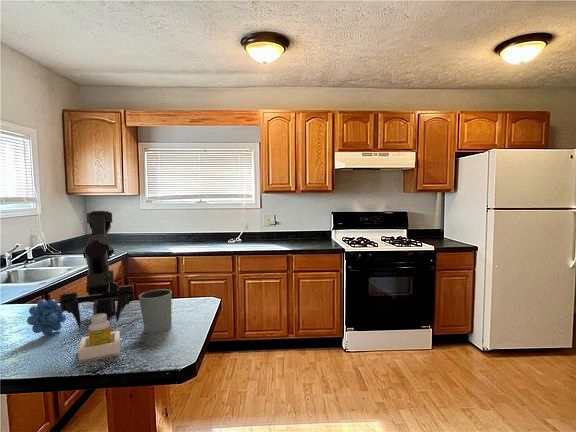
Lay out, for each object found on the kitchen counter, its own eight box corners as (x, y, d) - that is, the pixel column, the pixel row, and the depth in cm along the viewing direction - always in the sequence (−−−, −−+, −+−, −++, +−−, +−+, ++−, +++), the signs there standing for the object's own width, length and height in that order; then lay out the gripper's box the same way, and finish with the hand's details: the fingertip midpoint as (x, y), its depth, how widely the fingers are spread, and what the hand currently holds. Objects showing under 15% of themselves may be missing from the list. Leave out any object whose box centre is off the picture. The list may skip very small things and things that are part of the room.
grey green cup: (179, 327, 114) (177, 292, 113) (149, 337, 106) (147, 299, 106) (164, 320, 121) (162, 287, 120) (135, 329, 113) (133, 293, 113)
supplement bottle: (93, 355, 94) (91, 320, 93) (87, 349, 97) (85, 316, 97) (114, 348, 98) (112, 315, 97) (107, 343, 101) (105, 311, 101)
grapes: (37, 344, 104) (34, 305, 103) (24, 340, 107) (21, 303, 106) (74, 329, 115) (72, 294, 114) (61, 327, 117) (59, 292, 116)
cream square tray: (82, 348, 100) (82, 337, 99) (120, 341, 104) (119, 330, 104) (78, 363, 91) (78, 350, 91) (119, 355, 95) (119, 342, 95)
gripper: (58, 265, 95) (53, 316, 86) (131, 258, 103) (134, 304, 94) (64, 286, 103) (61, 335, 94) (132, 278, 111) (135, 323, 102)
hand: (98, 324), depth 96 cm, fingers open, 9 cm apart
